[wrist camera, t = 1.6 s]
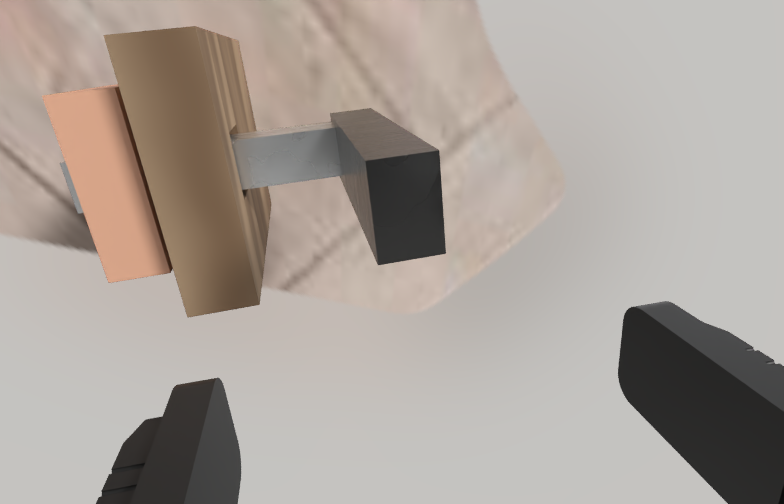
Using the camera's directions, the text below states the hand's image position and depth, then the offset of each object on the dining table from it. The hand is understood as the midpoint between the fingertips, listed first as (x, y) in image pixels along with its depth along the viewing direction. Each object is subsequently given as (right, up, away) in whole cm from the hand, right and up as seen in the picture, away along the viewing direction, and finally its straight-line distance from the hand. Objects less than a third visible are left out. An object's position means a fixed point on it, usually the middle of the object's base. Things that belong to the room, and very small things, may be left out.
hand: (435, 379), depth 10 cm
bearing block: (-12, +11, +24) cm, 29 cm away
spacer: (-13, +8, +17) cm, 23 cm away
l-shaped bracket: (-8, +7, +14) cm, 18 cm away
